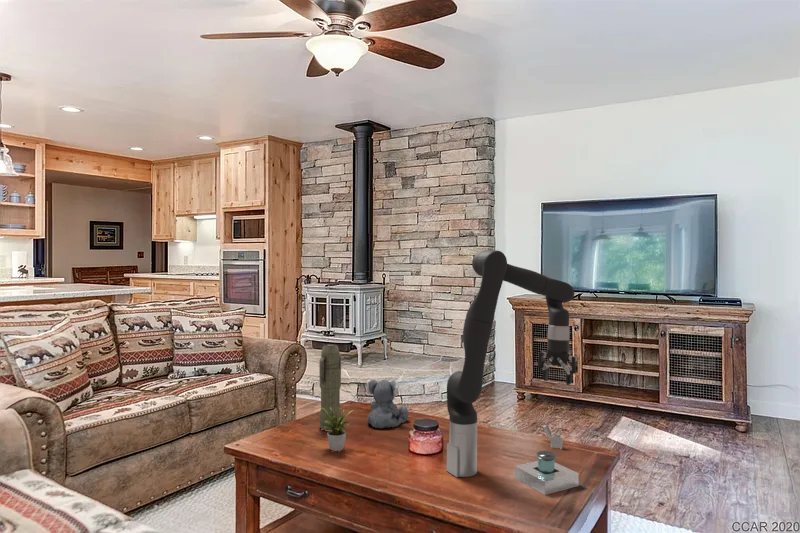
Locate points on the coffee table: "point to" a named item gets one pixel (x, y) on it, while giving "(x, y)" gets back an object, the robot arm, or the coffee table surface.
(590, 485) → the coffee table surface
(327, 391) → the thermos
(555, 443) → the lighter
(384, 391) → the koala plush
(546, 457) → the cover plug
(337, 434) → the house plant
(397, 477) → the coffee table surface
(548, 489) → the bore housing
